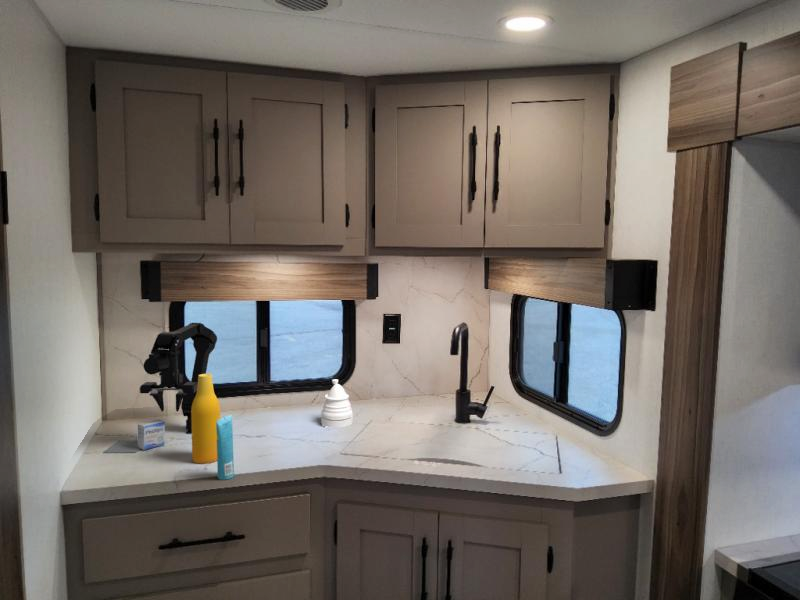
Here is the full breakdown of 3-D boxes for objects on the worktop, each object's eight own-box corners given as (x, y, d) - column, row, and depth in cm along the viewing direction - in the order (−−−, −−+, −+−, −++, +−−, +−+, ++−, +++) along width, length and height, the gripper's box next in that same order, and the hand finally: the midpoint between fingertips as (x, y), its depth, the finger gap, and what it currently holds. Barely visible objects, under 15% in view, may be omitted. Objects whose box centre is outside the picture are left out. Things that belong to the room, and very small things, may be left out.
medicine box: (143, 450, 195) (143, 426, 194) (137, 447, 198) (137, 423, 197) (164, 445, 201) (165, 421, 200) (158, 441, 204) (158, 418, 203)
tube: (225, 471, 179) (224, 413, 177) (238, 473, 177) (237, 414, 176) (212, 480, 171) (210, 420, 170) (226, 482, 170) (225, 421, 168)
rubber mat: (149, 440, 205) (149, 440, 205) (135, 452, 193) (135, 452, 193) (118, 441, 205) (118, 440, 205) (103, 453, 193) (102, 452, 193)
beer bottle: (223, 453, 194) (221, 371, 191) (218, 463, 185) (216, 378, 182) (195, 454, 193) (193, 372, 190) (189, 464, 184) (187, 378, 181)
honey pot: (316, 422, 230) (316, 379, 228) (343, 417, 237) (344, 375, 235) (330, 431, 219) (330, 386, 217) (358, 425, 226) (358, 382, 224)
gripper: (202, 363, 206) (203, 404, 207) (150, 363, 205) (152, 404, 206) (193, 370, 195) (194, 413, 196) (138, 370, 194) (139, 413, 195)
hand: (170, 411), depth 199 cm, fingers open, 5 cm apart
